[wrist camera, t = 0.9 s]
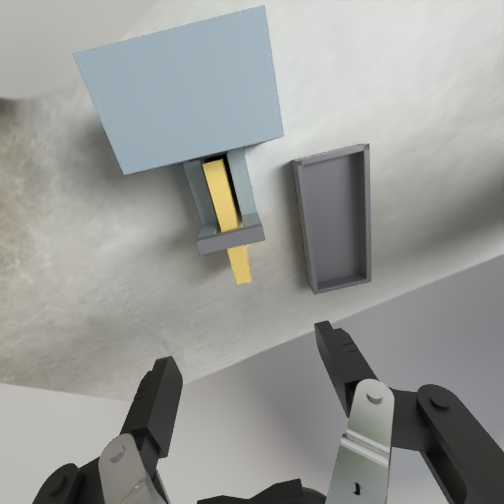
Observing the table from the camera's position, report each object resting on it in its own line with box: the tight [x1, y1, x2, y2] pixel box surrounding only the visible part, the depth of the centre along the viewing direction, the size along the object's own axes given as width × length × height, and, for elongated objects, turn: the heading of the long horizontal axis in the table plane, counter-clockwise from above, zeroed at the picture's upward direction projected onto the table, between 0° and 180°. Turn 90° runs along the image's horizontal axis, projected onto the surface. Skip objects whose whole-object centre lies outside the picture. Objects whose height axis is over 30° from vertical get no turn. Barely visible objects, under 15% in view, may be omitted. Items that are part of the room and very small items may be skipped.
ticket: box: [202, 158, 252, 285], centre depth 23 cm, size 1×11×6 cm, turn 13°
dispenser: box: [73, 5, 284, 255], centre depth 19 cm, size 10×13×10 cm
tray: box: [292, 144, 371, 294], centre depth 26 cm, size 7×16×2 cm, turn 13°
